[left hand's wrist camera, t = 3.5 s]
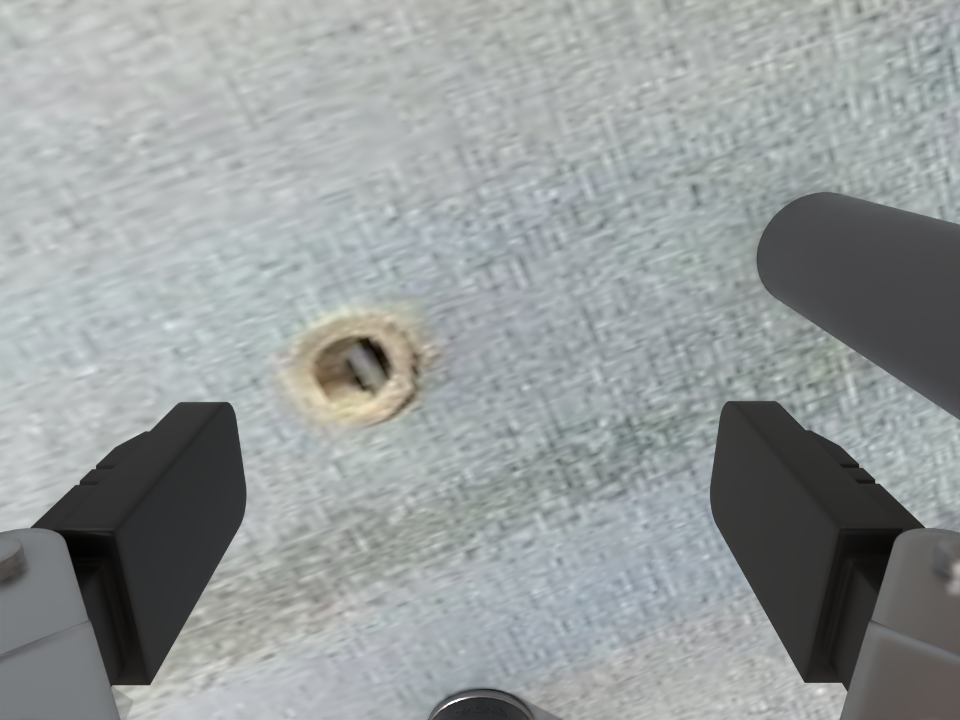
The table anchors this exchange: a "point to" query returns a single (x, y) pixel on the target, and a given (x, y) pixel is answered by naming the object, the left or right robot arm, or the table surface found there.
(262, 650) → the table surface
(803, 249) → the bottle
